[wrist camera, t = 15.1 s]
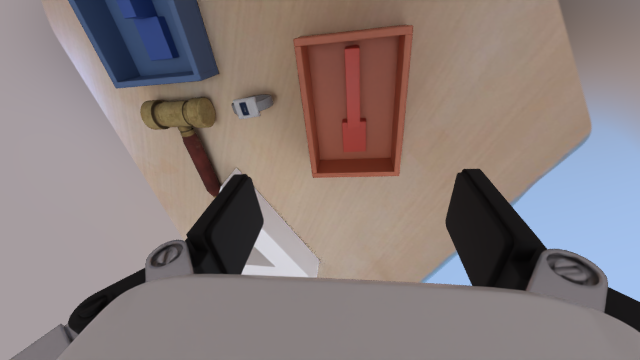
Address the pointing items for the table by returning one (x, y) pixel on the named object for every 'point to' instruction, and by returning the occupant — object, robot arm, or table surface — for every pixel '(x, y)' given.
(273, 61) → the table surface
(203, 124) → the gavel
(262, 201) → the triangle block
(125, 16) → the blue block-headed bar
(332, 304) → the robot arm
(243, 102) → the wristwatch
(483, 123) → the table surface
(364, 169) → the terracotta bin
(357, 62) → the red wooden stick
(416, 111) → the table surface
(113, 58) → the blue bin
